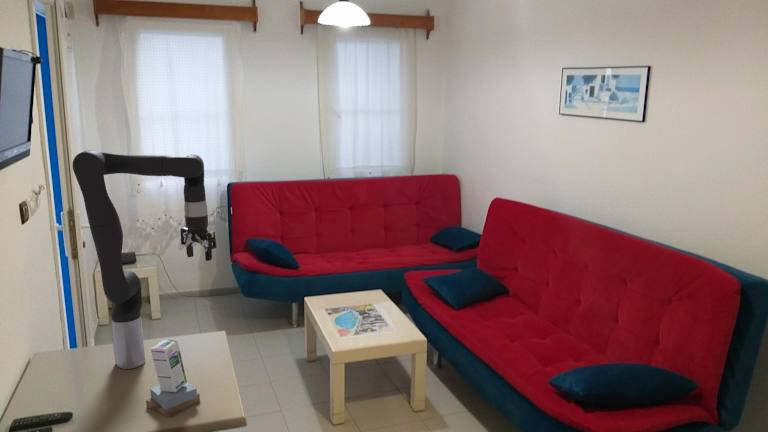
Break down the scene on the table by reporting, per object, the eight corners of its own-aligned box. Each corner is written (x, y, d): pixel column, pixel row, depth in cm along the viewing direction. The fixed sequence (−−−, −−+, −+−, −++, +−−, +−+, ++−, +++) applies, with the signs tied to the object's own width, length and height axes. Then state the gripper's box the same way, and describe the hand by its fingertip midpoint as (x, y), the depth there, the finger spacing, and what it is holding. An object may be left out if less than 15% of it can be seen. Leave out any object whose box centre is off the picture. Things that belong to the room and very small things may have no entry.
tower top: (151, 397, 181) (150, 388, 181) (181, 385, 188) (180, 376, 187) (165, 409, 174) (165, 400, 174) (197, 397, 181) (196, 388, 181)
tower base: (146, 409, 180) (146, 400, 179) (175, 393, 189) (175, 384, 189) (171, 419, 175) (170, 410, 174) (200, 402, 184) (199, 393, 183)
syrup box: (175, 392, 177) (165, 349, 173) (159, 391, 179) (149, 348, 175) (187, 382, 182) (178, 340, 179) (171, 381, 184) (162, 339, 181)
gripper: (172, 213, 202) (176, 258, 206) (203, 218, 196) (207, 264, 200) (189, 209, 209) (192, 253, 212) (219, 213, 202) (222, 258, 206)
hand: (199, 258), depth 206 cm, fingers open, 8 cm apart
